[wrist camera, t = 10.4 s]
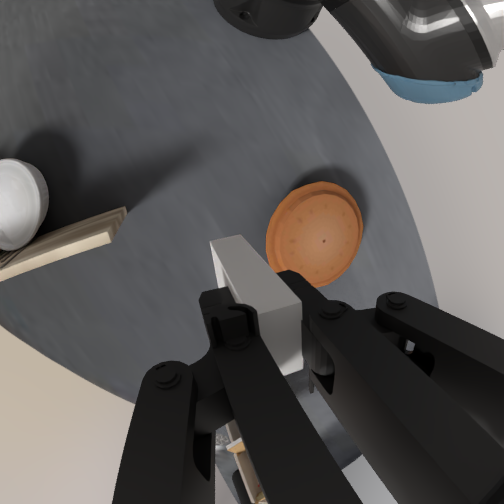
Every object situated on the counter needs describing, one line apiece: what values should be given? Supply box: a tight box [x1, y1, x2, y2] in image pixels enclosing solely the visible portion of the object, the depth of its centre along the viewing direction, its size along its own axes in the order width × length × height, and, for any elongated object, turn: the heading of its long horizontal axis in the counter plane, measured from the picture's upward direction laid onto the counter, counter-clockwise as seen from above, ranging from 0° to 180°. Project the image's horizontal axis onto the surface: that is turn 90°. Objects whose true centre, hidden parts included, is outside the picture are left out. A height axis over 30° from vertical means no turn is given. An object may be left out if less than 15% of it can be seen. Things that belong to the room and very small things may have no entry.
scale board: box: [0, 206, 127, 281], centre depth 24 cm, size 1×26×12 cm, turn 101°
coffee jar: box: [232, 469, 259, 504], centre depth 55 cm, size 11×11×18 cm
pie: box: [266, 181, 363, 288], centre depth 39 cm, size 15×16×5 cm
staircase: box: [215, 420, 268, 504], centre depth 39 cm, size 8×12×26 cm
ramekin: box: [0, 158, 49, 251], centre depth 25 cm, size 11×11×5 cm
